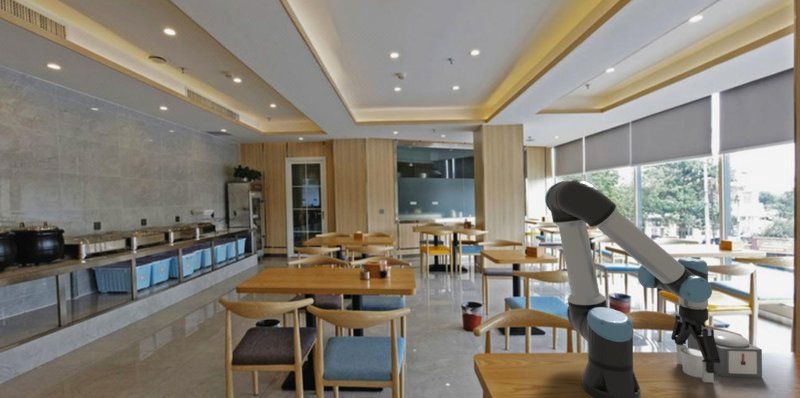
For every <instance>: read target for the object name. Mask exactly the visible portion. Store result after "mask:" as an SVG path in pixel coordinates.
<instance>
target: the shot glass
mask: <svg viewBox="0 0 800 398" xmlns="http://www.w3.org/2000/svg"><path fill="white" fill-rule="evenodd" d="M681 358H682V364H681V365H682V372H683V373H685V374H686V375H688V376H690V377H694V378H702V360H704V358H703V356H702V353H701V351H700V350H697V349H692V348H688V347H687V348H681Z"/></svg>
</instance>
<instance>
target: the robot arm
mask: <svg viewBox="0 0 800 398" xmlns="http://www.w3.org/2000/svg"><path fill="white" fill-rule="evenodd" d="M544 200H545V205H546V207H547V209H548V210H549V211H550V213H551V219H552V223H553V224H555V225H556V226H557V227H558V229H559V230H558V231H559V234H560V236H559V237H560V240H561V245H562V246H561V247H562V251H563V256H564V257H563V258H564V262H565V267H566V272H567V278H568V282H569V287H570V293H571V294H570V295H569V296H568V297H567V303H568V305H567V309H566V316H567V317H566V318H567V320H568V323H569V324H570V326H571V327H572V328H573V329H574V331H576V332H577V333H578V334H579V335H580V336H581V337H582V338H583V339H584V340H585V341H586V342H587V352H588V353H587V354H588V355H587V357H588V358H587V363H586V366H585V369H584V372H583V374H582V378H581V381H582V382H581V383H582V387H584V388H583V389H584V391H585V392H587V394H589V395H591V397H594V398H642V396H641V395H642V391H641V388H640V384H639V381H638V379H637V377H636V374H635V371H634V327H633V322H632V319H631V318H630V317H629V316H628V315H627V314H625V313H624V312H622V311H619V310H615V309H614V308H611V307H610V308H609V307H608V302H607V298H606V296H605V295H603V294H602V293H601V292H600V288H599V283H598V279H597V273H596V269H595V263H594V258H593V252H592V248H591V242H590V237H589V231H588V226H589V227H590V228H597V229H598V230H600V231H601V232H602V233H603V234H604V235H605V236H606V237H608V238H609V239H610V240H611V241H612V242H613V243H615V244H616V246H618V247H619V248H621V249H622V250H623V251H624V252H626V254H628V255H629V256H630V257H631V258H632V259H634V260H635V261H636V262H637V263H638V264H639V265H640V267H639V268H638V270H637V279H638V283H639V284H640V286H642V287H643V288H647V289H659V290H662V291H665V292H667V293H669V294H672V295H674V296H676V297H678V298H677V299H678V302H677V303H679V305H678V314H675V316H674V317H675V318H674V319H675V322H674V326H673V329H672V334H671V337H670V338H671V340H672V341H674V344H675V345H676V364H677V365H682V358H681V348H688V345H687V341H688V337H689V336H690V334H692V335H693V337H694V339H696V340H697V343H698V345H699V348H700V351H701V353H702V356H703V358H704V360H702V377H701V380H702V382H703V383H714V373H715V372H714V363H720V358H719V355H718V351H717V347H716V343H715V339H714V330H715V329H713V328H708V327H706V321H708V320H709V316H710V315H709V299H710V298H711V296H712V295H713V287H712V284H711V282H709V270H708V264H707V262H706V260H704V259H699V258H694V257H693V258H692V257H681V258H678V260H676V258H675V257H673V256H672V255H671V254H670V253H669V252H667V251H666V250H665V249H664V248H663V247H661V246H660V245H659V244H658V243H657V242H655V241H654V240H653V239H652V238H651V237H649V236H648V235H647V234H646V233H645V232H643V231H642V230H641V229H640V228H639V227H638V226H637V225H635V224H634V223H633V222H632V221H631V220H629V219H628V218H627V217H626V215H624V214H622V213H621V212H620V211H619V210H617V209H618V208H617V207H618V206H617V204H616V203H615V202H614V201H613V200H612V199H610V198H609V197H608V196H607V195H605V194H604V192H602V191H600V189H598V188H597V187H595V186H594V185H592V183H589V182H588V181H585V180H581V179H574V180H564V181H559V182H557V183H554V184H553V185H552V186H550V187H549V188H548V190H547V191H546V193H545V197H544ZM587 225H588V226H587ZM701 335H703V336H701Z"/></svg>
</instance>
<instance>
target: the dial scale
mask: <svg viewBox="0 0 800 398" xmlns="http://www.w3.org/2000/svg"><path fill="white" fill-rule="evenodd" d="M713 330H714V339H715V343H716V347H717V351H718V355H719V358H720V363H714V373H715V374H717V375H718V376H720V377H731V378H733V377H735V378H758V379H759V378H760V377H761V378H763V353H762V352H763V351H762V348H759V347H758V346H755V345H753V344H751V343H750V341H749V339H748V338H746V337H744V336H742V335H739V334H736V333H732V332H730V331H725V330H720V329H713ZM701 336H703V335H701ZM687 348H692V349H697V350H700V348H699V345H698V343H697V340H696V339H694V337H693V335H692V334H690V336H689V337H688V339H687Z"/></svg>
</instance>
